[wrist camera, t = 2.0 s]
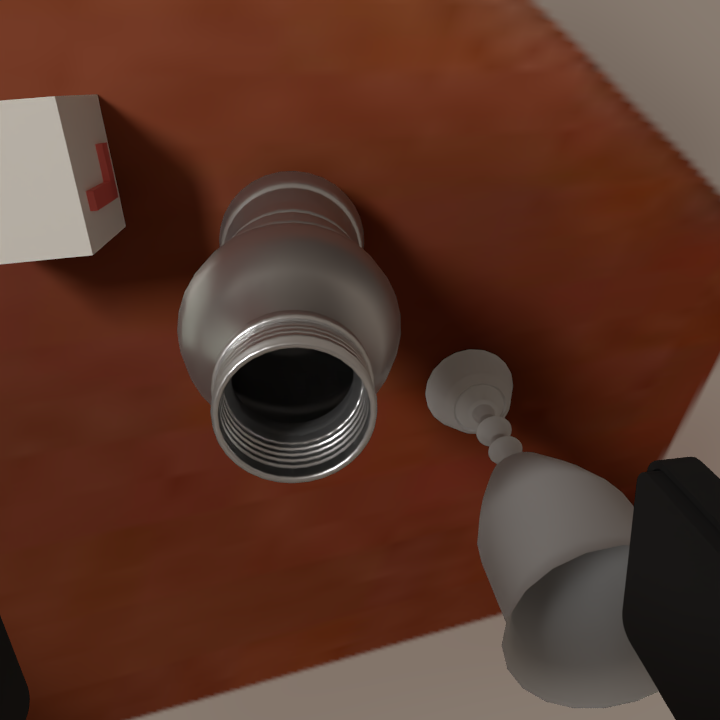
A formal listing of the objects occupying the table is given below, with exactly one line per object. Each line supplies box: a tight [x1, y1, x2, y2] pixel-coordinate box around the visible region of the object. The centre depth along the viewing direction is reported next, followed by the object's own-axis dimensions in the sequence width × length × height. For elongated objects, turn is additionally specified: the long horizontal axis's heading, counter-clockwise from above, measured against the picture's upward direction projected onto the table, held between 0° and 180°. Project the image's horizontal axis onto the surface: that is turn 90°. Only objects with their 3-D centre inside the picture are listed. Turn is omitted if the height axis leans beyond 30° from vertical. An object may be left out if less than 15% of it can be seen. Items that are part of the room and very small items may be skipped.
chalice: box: [425, 349, 658, 708], centre depth 29 cm, size 7×7×18 cm
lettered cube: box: [0, 94, 126, 264], centre depth 28 cm, size 6×6×6 cm
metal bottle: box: [177, 171, 401, 483], centre depth 24 cm, size 6×7×20 cm
